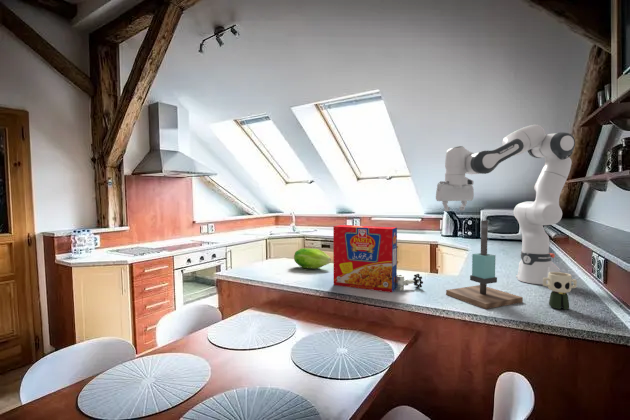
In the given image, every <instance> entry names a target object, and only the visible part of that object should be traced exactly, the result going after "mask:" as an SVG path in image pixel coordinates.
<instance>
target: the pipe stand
mask: <svg viewBox="0 0 630 420" xmlns="http://www.w3.org/2000/svg"><path fill="white" fill-rule="evenodd" d="M488 224H489V221H488V220H481V221H480V253H481V255H483V256H486V255H487V254H488V237H489V236H488V232H489V231H488ZM445 295H446V296H449V297H452V298H454V299H456V300H457V299H458V300H460V301H463V302H465V303H468V304H471V305H474V306H476V307H479V308H481V309H485V310H489V309H493V308H500V307H504V306H506V307H507V306H510V305H514V304H515V305H516V304H521V303H523V301H524V300H523V299H524V298H523V296H520V295H516V294H514V293H511V292H510V293H509V292H506V291H504V290H503V291H502V290H498V289H495V288H493V287H490V286H489V287H488V285H487V284H482V283H479V284H478V285H472V286H464V287H458V288H452V289H446V291H445Z"/></svg>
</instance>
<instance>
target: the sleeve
mask: <svg viewBox="0 0 630 420" xmlns="http://www.w3.org/2000/svg"><path fill="white" fill-rule="evenodd" d="M471 257H472V258H471V259H472V261H471V263H472V265H471V266H472V267H471V275H472V276H476V277H479V278H483V279H487V278H494V277H496V254H495V255H494V254H489V253H487V255H486V256H483V255H481V252H480V253H472V255H471Z"/></svg>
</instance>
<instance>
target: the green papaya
mask: <svg viewBox="0 0 630 420" xmlns="http://www.w3.org/2000/svg"><path fill="white" fill-rule="evenodd" d="M293 259H294V263H296V264H297V265H298V266H299V267H301V268H302V269H310V270H315V269H320V268H322V267H325V266H327V265H329V264H331V261H332V257H330V255H328V254H327V253H325V251H323V250H320V249H318V248H306V247H305V248H303V247H301V248H299V249H298V250H296V251H295V252H294V255H293Z"/></svg>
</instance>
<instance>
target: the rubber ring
mask: <svg viewBox="0 0 630 420" xmlns="http://www.w3.org/2000/svg"><path fill="white" fill-rule="evenodd" d="M469 281H471V282H475V283H479V284H480V283H482V284H495V283H498V277H496V276H495V277H494V278H487V279H483V278H479V277H476V276H472V274H471V275H470V276H469Z"/></svg>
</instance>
